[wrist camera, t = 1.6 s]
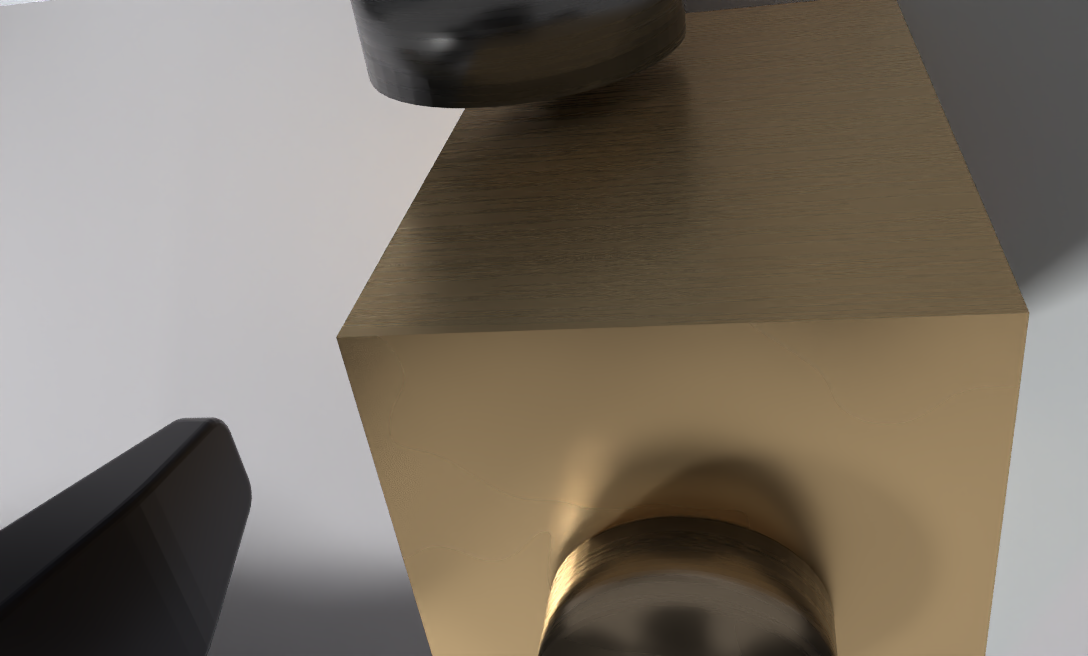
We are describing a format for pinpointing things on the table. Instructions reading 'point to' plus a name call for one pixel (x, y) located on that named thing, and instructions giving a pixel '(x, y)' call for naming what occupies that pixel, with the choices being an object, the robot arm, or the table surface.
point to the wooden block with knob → (701, 359)
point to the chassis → (508, 47)
